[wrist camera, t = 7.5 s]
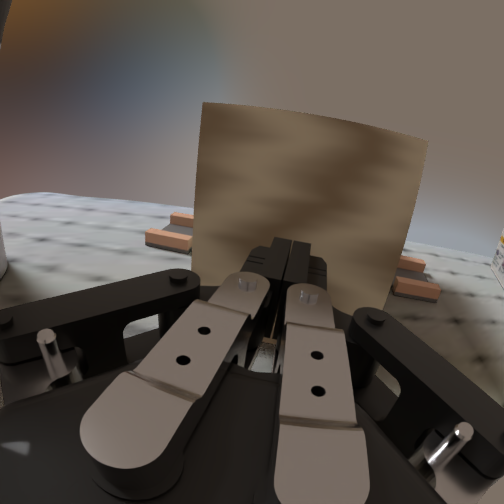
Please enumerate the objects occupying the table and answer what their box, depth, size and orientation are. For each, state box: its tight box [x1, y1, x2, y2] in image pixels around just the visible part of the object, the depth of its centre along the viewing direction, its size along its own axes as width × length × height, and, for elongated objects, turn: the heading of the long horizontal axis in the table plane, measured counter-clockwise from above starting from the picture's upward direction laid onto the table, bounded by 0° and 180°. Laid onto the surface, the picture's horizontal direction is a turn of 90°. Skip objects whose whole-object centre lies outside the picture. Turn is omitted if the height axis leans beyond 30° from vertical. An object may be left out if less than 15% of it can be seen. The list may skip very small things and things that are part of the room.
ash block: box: [191, 102, 428, 344], centre depth 21 cm, size 10×14×12 cm
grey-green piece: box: [145, 212, 441, 303], centre depth 27 cm, size 25×7×4 cm, turn 78°
